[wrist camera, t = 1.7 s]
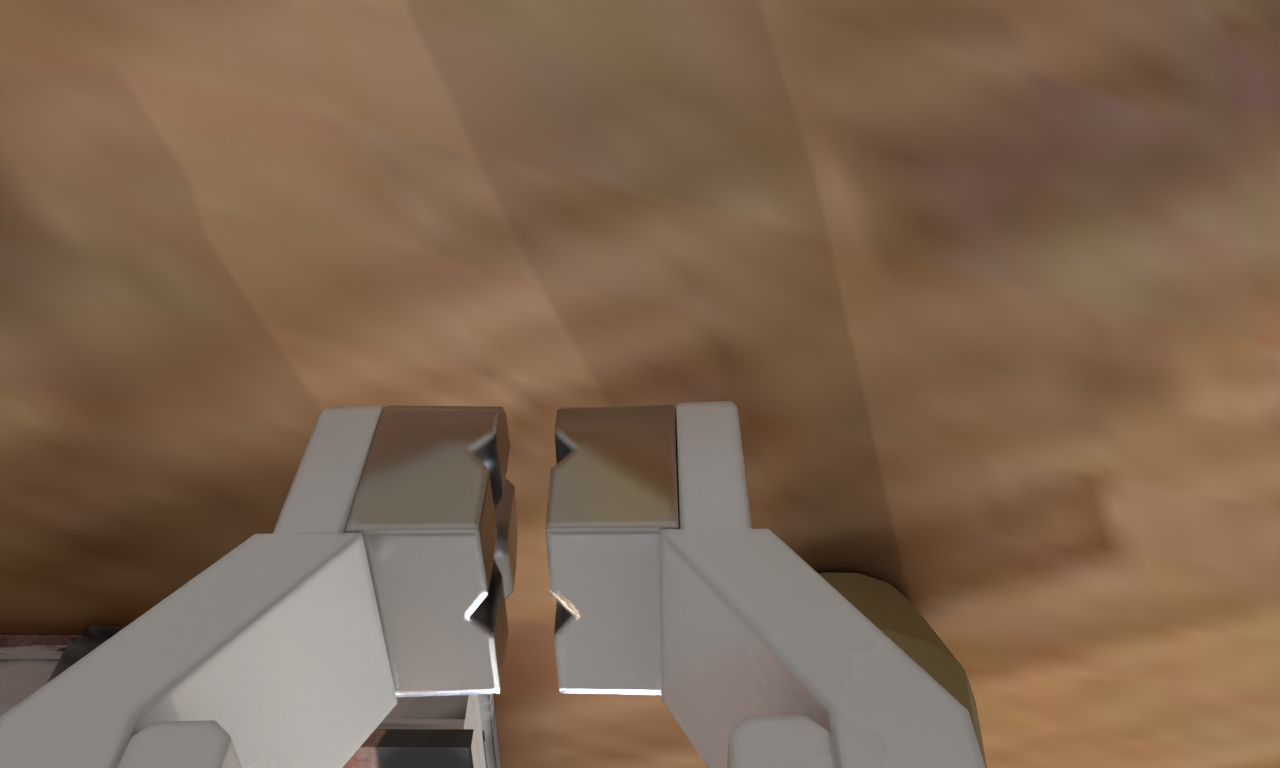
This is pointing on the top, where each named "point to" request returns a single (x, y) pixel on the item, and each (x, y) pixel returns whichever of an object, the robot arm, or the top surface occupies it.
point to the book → (384, 764)
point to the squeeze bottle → (908, 634)
